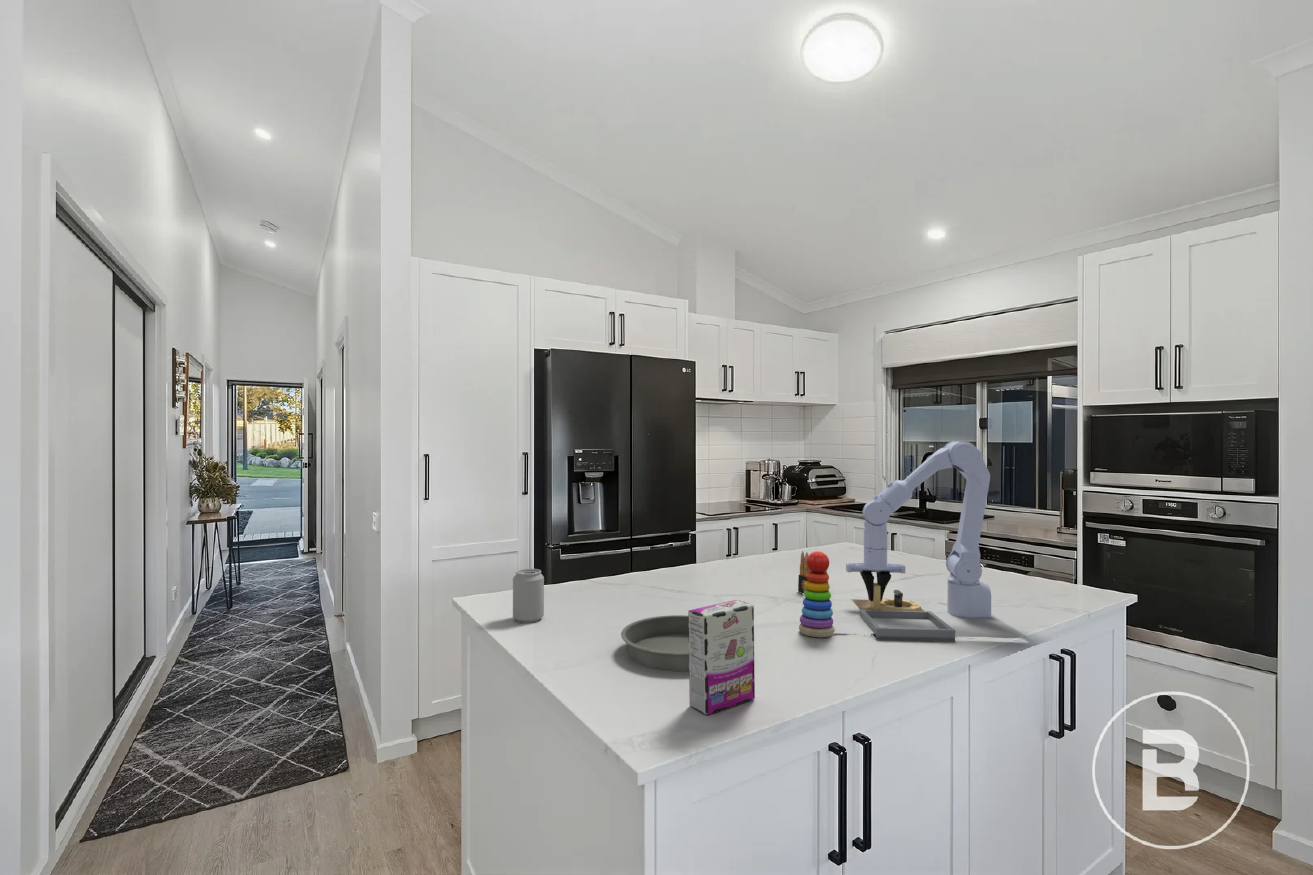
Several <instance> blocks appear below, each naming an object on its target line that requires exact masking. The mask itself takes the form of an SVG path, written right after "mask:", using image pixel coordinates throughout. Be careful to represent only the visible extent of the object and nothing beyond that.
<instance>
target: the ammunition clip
mask: <svg viewBox="0 0 1313 875" xmlns="http://www.w3.org/2000/svg"><path fill="white" fill-rule="evenodd" d="M805 552H806V553H805ZM805 552H804V551H803V550H802V551H801V553H800V562H799V574H798V578H797V580H798V582H797V588H798V589H797V592H798V591H799V592H801V593H800V594H802V593H804V591H805V590H806V588H805V583H806V582H807V581H809V580H808V579H807V573H809V572H811V570H810V569H809V568H808V566H807V558H808V556H809V553H808V551H805ZM825 573H827V574H828V569H827V570H826V571H825ZM827 583H828V584H829V580H828V581H827ZM828 591H829V592H830V590H828ZM799 592H798V593H799Z"/></svg>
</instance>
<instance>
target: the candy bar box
mask: <svg viewBox="0 0 1313 875" xmlns="http://www.w3.org/2000/svg"><path fill="white" fill-rule="evenodd" d="M754 606H755V605H754V604H750V603H748V602H745V601H741V600H739V599H734V600H729V601H723V602H720V603H715V604H711V605H707V606H702V607H698V608H694V609H688V611H687V612H688V614H687V616H688V618H689V671H688V672H689V674H688V676H689V677H688V678H689V680H688V682H689V685H688V686H689V687H688V688H689V691H688V692H689V707H691V708H692V709H694V710H695V711H698V712H700V713H702V714H703V715H706V716H710V715H713V714H716V713H719V712H721V711H724V710H727V709H730V708H733V707H736V706H738V705H741V704H744V703H746V702H749V701H752V700H755V698H756V694H755V693H756V692H755V691H756V690H755V685H756V684H755V678H756V677H755V623H754V622H755V608H754Z"/></svg>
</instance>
